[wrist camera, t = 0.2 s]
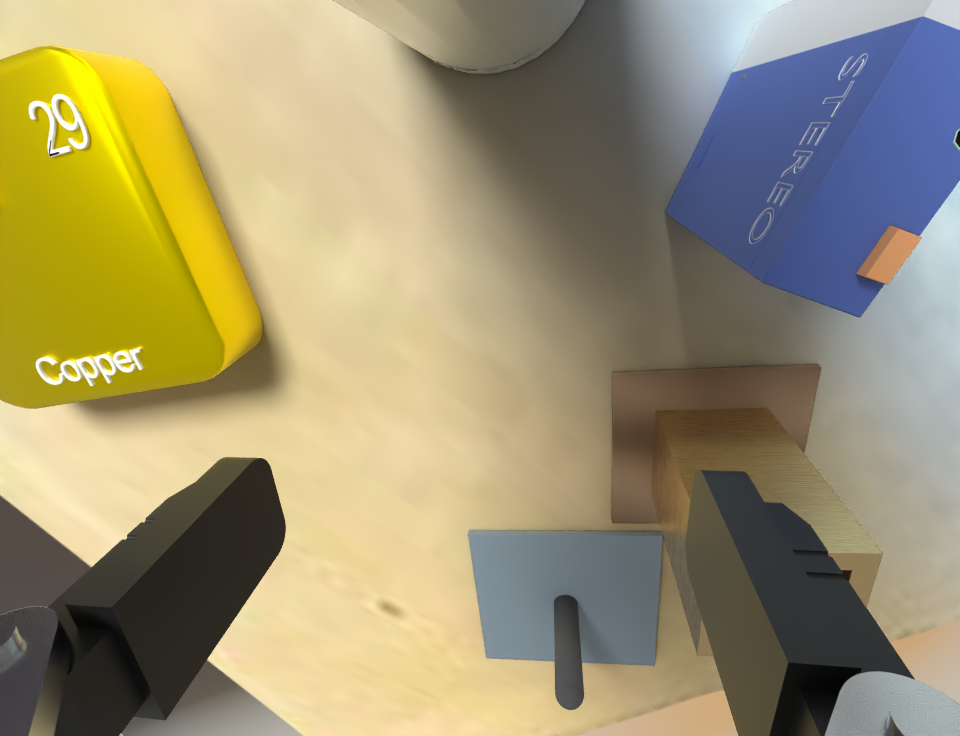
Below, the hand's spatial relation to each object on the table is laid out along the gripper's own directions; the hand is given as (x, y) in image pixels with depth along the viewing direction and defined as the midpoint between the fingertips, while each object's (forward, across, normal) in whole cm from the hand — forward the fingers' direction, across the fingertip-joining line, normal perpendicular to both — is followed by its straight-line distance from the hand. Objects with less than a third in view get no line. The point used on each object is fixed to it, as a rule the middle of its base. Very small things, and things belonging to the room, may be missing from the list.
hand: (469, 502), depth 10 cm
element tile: (+18, +23, -3) cm, 29 cm away
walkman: (+18, -9, -6) cm, 21 cm away
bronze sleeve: (+17, -10, +10) cm, 22 cm away
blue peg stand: (+18, -2, +22) cm, 29 cm away
